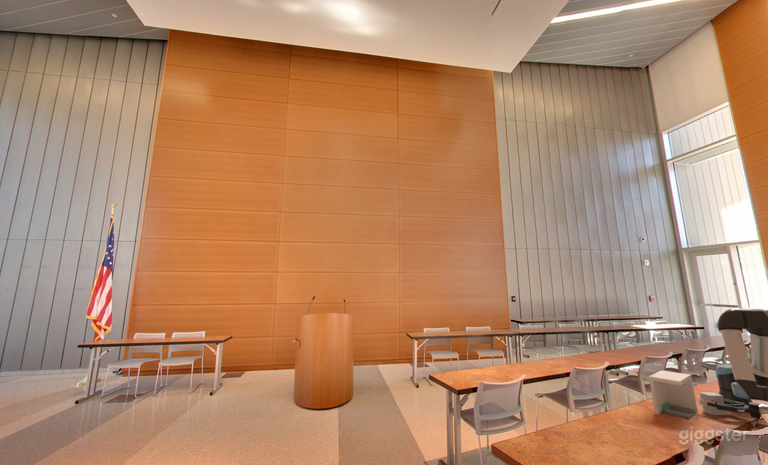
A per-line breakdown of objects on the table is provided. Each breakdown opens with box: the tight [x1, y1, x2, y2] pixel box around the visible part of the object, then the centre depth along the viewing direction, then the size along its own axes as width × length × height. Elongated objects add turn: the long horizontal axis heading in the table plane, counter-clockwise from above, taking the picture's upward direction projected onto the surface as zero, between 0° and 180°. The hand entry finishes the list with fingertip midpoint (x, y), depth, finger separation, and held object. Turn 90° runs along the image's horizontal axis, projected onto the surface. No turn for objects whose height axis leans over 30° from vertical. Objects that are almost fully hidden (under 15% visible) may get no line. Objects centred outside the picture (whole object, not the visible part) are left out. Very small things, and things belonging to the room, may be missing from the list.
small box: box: [699, 391, 728, 416], centre depth 176 cm, size 8×6×10 cm
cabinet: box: [648, 369, 699, 420], centre depth 179 cm, size 14×24×20 cm, turn 125°
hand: (701, 399), depth 180 cm, fingers closed on small box, 9 cm apart
